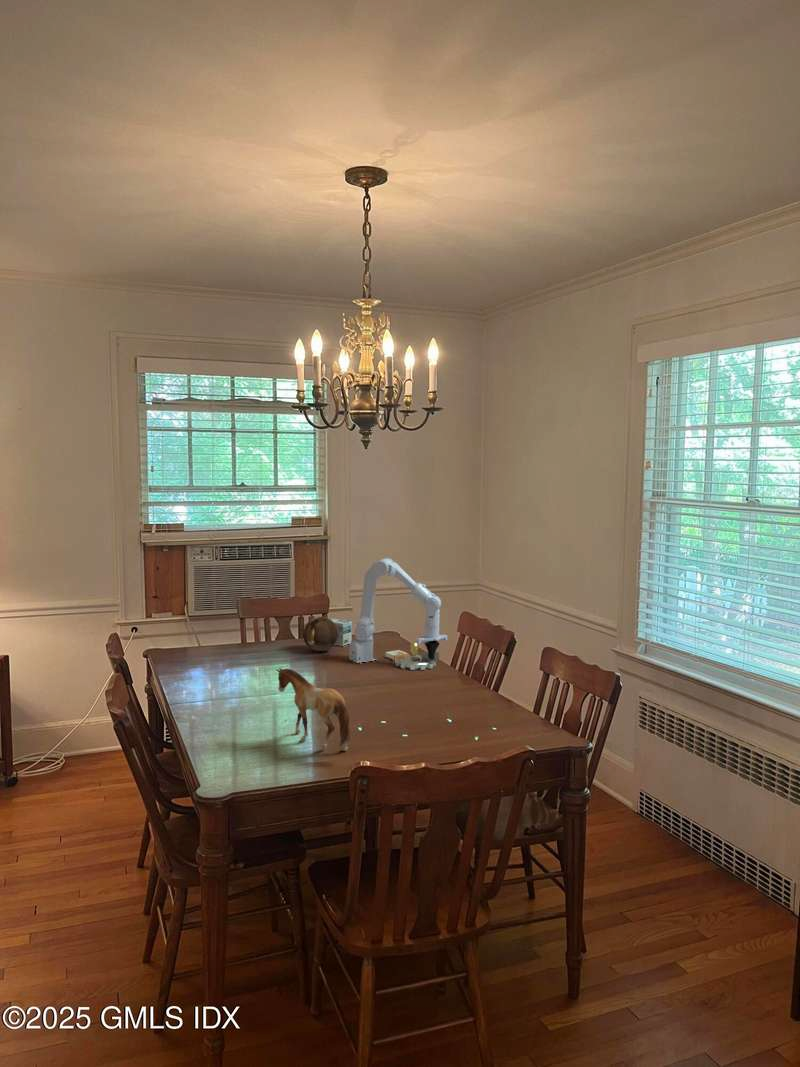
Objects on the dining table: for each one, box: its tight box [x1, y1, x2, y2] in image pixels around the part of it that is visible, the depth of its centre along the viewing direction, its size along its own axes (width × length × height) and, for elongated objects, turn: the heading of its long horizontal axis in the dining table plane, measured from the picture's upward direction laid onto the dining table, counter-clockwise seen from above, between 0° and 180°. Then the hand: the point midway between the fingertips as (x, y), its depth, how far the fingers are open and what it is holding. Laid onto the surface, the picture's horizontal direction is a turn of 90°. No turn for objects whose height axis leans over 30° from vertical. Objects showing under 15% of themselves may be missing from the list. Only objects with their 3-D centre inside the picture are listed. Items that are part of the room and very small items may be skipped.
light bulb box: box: [330, 618, 353, 647], centre depth 343 cm, size 11×7×11 cm, turn 58°
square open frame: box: [385, 649, 410, 661], centre depth 321 cm, size 7×7×2 cm
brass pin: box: [409, 641, 419, 656], centre depth 324 cm, size 3×3×6 cm
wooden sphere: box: [302, 616, 338, 652], centre depth 329 cm, size 15×15×15 cm
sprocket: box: [394, 651, 440, 671], centre depth 310 cm, size 16×18×5 cm
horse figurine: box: [275, 667, 351, 752], centre depth 220 cm, size 31×8×21 cm, turn 47°
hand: (431, 659), depth 308 cm, fingers closed, pressing on sprocket
